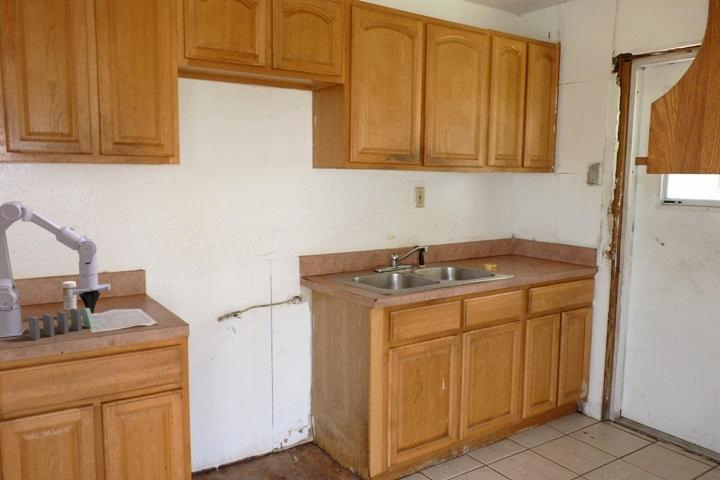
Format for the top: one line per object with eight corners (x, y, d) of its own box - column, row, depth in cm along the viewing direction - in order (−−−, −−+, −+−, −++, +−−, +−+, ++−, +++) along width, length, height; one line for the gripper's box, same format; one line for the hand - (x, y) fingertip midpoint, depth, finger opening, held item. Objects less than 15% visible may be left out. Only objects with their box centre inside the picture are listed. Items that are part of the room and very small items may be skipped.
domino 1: (36, 340, 179) (34, 318, 178) (29, 337, 182) (28, 316, 181) (40, 339, 180) (38, 318, 179) (33, 336, 183) (32, 316, 182)
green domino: (87, 324, 197) (82, 306, 195) (94, 327, 194) (89, 308, 192) (84, 326, 196) (79, 307, 194) (91, 328, 193) (86, 309, 191)
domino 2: (50, 337, 182) (49, 316, 182) (44, 334, 185) (42, 314, 184) (54, 336, 183) (53, 315, 183) (47, 333, 186) (46, 313, 185)
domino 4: (78, 331, 190) (77, 311, 189) (71, 328, 192) (70, 309, 192) (81, 330, 190) (80, 310, 190) (74, 328, 193) (73, 308, 193)
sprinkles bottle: (67, 316, 211) (65, 280, 209) (79, 315, 211) (77, 280, 210) (61, 319, 206) (59, 283, 205) (74, 318, 207) (72, 282, 205)
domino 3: (64, 334, 186) (63, 313, 185) (57, 331, 189) (56, 311, 188) (68, 333, 187) (67, 312, 186) (61, 331, 190) (60, 310, 189)
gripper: (73, 278, 185) (75, 318, 187) (114, 272, 197) (116, 310, 198) (62, 276, 190) (65, 315, 191) (103, 270, 201) (105, 307, 203)
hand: (90, 312), depth 195 cm, fingers closed
